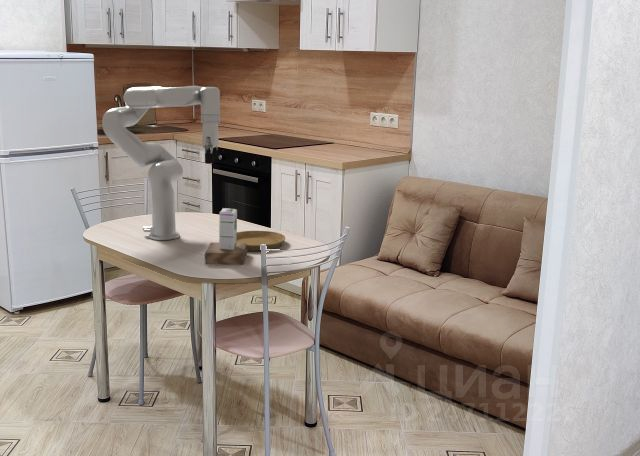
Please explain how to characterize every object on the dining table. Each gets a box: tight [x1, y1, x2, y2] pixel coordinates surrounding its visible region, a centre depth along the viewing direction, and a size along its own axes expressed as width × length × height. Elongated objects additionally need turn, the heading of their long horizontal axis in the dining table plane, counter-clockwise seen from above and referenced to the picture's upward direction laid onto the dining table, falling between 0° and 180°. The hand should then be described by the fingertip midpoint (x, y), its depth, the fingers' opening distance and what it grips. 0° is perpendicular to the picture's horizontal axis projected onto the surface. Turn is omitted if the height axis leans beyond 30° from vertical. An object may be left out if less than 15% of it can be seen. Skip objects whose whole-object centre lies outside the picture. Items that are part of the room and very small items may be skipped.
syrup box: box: [218, 207, 238, 250], centre depth 269 cm, size 6×6×14 cm
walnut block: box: [204, 242, 248, 266], centre depth 272 cm, size 14×14×5 cm
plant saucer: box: [237, 230, 286, 252], centre depth 293 cm, size 24×24×3 cm
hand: (211, 161), depth 289 cm, fingers open, 9 cm apart
